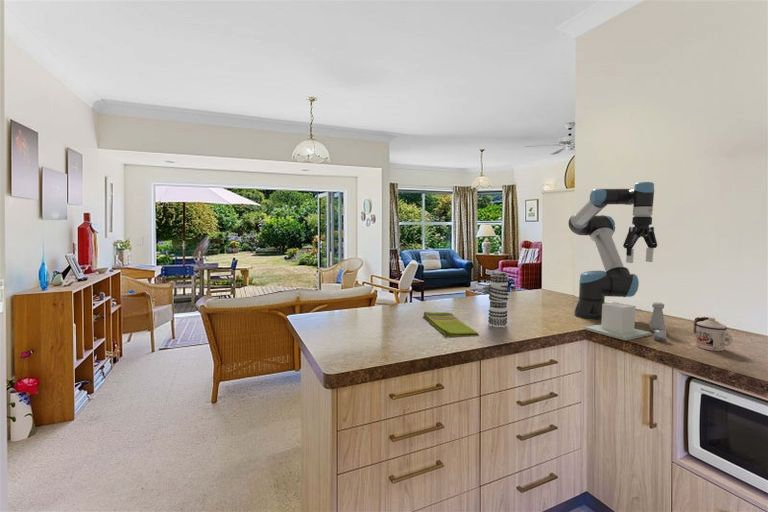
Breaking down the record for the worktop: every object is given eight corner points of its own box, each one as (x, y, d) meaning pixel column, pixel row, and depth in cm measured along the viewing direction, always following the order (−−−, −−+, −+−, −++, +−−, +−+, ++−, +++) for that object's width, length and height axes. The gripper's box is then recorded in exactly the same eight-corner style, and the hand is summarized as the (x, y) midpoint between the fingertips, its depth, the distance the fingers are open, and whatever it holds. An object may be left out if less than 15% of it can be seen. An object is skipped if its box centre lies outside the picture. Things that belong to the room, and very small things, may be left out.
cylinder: (651, 339, 156) (652, 330, 156) (657, 338, 158) (657, 329, 158) (662, 342, 153) (663, 332, 153) (668, 341, 155) (668, 331, 154)
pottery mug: (728, 338, 162) (724, 322, 159) (705, 346, 163) (701, 331, 161) (706, 323, 173) (702, 309, 170) (685, 332, 174) (680, 317, 172)
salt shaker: (663, 330, 170) (665, 302, 169) (666, 334, 165) (668, 304, 164) (647, 329, 172) (649, 301, 171) (650, 332, 167) (651, 303, 166)
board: (584, 329, 171) (585, 327, 171) (610, 325, 179) (610, 322, 179) (625, 340, 155) (625, 337, 155) (651, 335, 163) (651, 332, 163)
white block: (601, 328, 169) (602, 303, 168) (613, 326, 173) (615, 302, 172) (621, 333, 161) (622, 307, 160) (634, 330, 165) (635, 305, 164)
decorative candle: (506, 323, 182) (508, 271, 180) (509, 328, 173) (511, 273, 171) (486, 322, 183) (488, 270, 181) (488, 327, 174) (490, 273, 172)
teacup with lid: (688, 344, 150) (690, 315, 149) (707, 343, 152) (709, 314, 151) (720, 354, 138) (723, 323, 138) (740, 353, 140) (743, 322, 139)
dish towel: (451, 316, 197) (451, 310, 196) (479, 336, 161) (479, 329, 161) (422, 317, 194) (422, 311, 194) (444, 338, 159) (444, 330, 159)
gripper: (632, 215, 167) (629, 264, 169) (668, 216, 176) (665, 262, 178) (615, 216, 174) (613, 262, 176) (651, 216, 183) (648, 260, 185)
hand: (639, 262), depth 177 cm, fingers open, 13 cm apart
